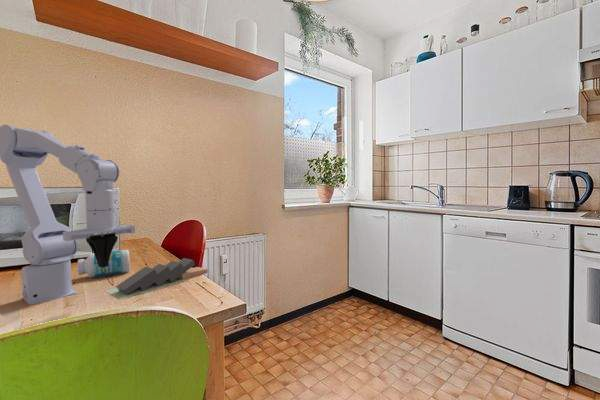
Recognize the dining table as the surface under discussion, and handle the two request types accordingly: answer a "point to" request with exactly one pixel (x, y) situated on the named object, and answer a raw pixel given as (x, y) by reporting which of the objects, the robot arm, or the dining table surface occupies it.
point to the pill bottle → (115, 266)
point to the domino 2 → (160, 271)
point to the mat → (137, 291)
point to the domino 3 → (173, 268)
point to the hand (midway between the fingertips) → (103, 266)
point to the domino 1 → (136, 280)
